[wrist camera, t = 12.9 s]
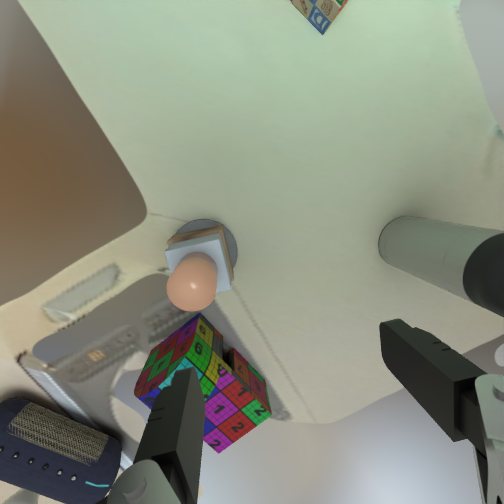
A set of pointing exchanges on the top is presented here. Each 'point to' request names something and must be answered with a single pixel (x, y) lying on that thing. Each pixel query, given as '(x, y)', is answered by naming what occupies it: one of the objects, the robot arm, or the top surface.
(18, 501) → the lightbulb
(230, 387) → the numbered checker block
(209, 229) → the walnut base block
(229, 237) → the slate coaster
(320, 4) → the stack of blocks
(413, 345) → the robot arm
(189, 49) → the top surface
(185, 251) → the grey-blue top block
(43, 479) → the portable speaker
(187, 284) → the peach rounded cylinder
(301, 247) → the top surface
